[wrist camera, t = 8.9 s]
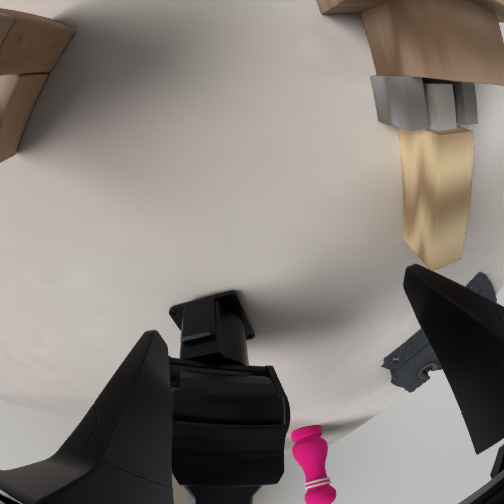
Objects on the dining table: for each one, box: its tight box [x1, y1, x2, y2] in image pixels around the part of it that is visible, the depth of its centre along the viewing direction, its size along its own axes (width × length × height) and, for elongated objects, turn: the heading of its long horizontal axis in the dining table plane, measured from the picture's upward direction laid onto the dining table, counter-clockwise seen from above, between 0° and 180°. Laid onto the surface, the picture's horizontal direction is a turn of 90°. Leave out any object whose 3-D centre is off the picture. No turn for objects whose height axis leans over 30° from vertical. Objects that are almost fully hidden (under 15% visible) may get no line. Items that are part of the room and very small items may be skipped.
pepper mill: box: [291, 426, 336, 504], centre depth 39 cm, size 7×7×20 cm
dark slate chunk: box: [380, 272, 497, 392], centre depth 32 cm, size 15×22×5 cm
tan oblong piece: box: [398, 81, 473, 271], centre depth 17 cm, size 14×4×5 cm, turn 16°
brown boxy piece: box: [316, 0, 504, 131], centre depth 10 cm, size 10×12×10 cm
